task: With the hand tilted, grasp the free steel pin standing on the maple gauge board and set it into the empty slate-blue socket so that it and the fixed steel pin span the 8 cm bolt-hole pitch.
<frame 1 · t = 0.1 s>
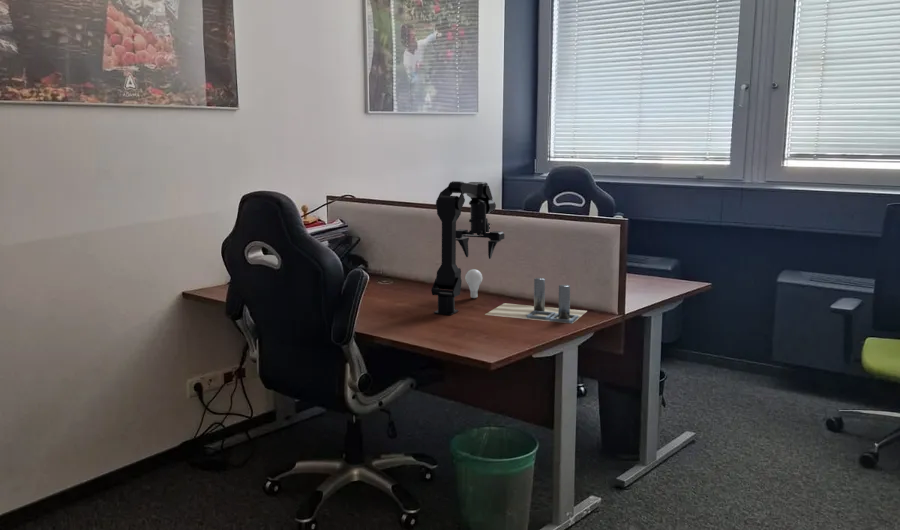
hand: (478, 257, 280), 15 cm above the table, tool pointing down, fingers open, 9 cm apart
lightbulb: (474, 298, 279), on the table
pin: (539, 310, 253), point 1 cm above the table, touching gauge board
fixed pin: (564, 319, 242), resting on gauge board
gauge board: (536, 316, 251), on the table
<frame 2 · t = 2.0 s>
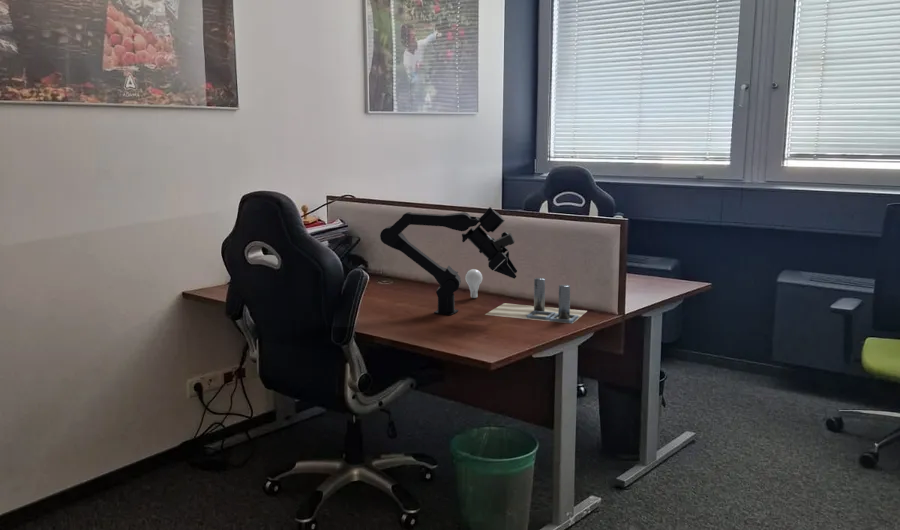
hand: (516, 274, 252), 13 cm above the table, tool tilted 45°, fingers open, 9 cm apart
nothing on the table moved.
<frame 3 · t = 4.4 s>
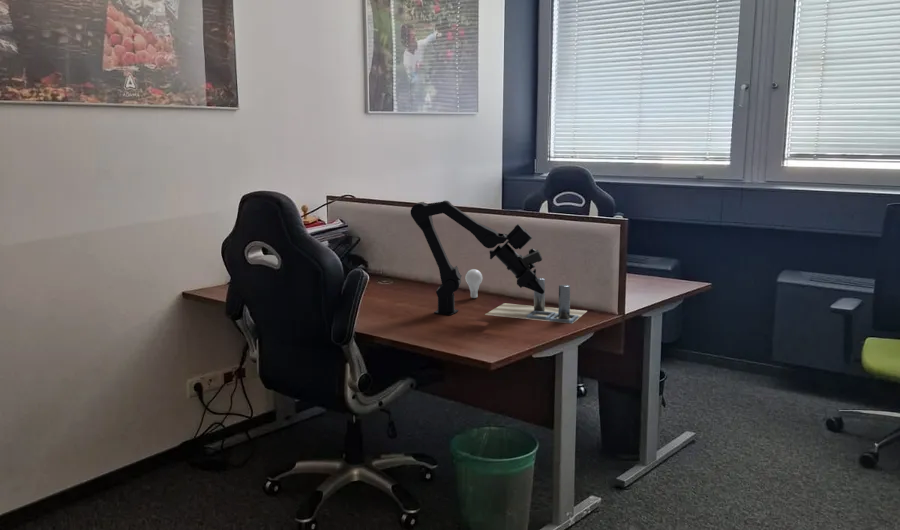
hand: (543, 291, 252), 8 cm above the table, tool tilted 45°, fingers closed on pin, 4 cm apart
pin: (539, 310, 253), point 1 cm above the table, touching gauge board, gripper
everything else where it was.
when the fingers open (9 cm above the table, at t = 6.8 s): pin drops 1 cm, resting on gauge board.
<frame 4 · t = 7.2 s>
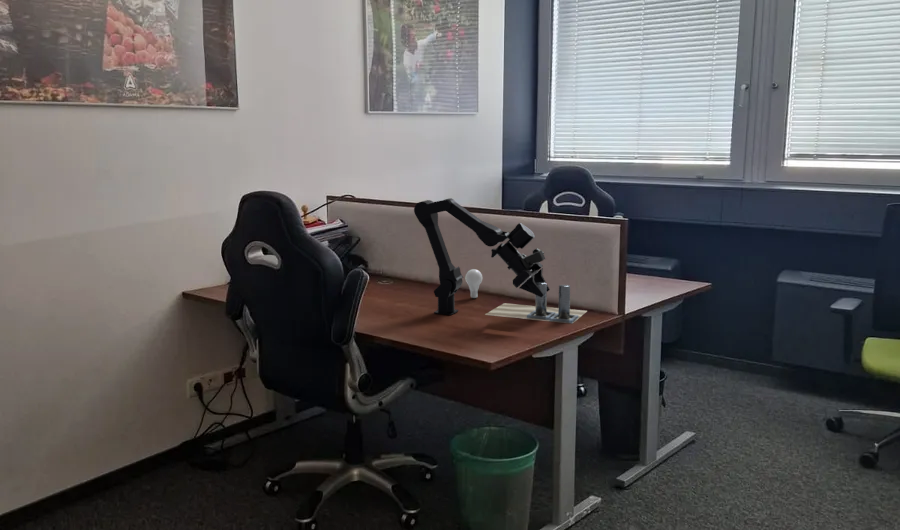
hand: (545, 293, 244), 9 cm above the table, tool tilted 45°, fingers open, 8 cm apart
pin: (541, 316, 246), point 1 cm above the table, touching gauge board
everything else where it was.
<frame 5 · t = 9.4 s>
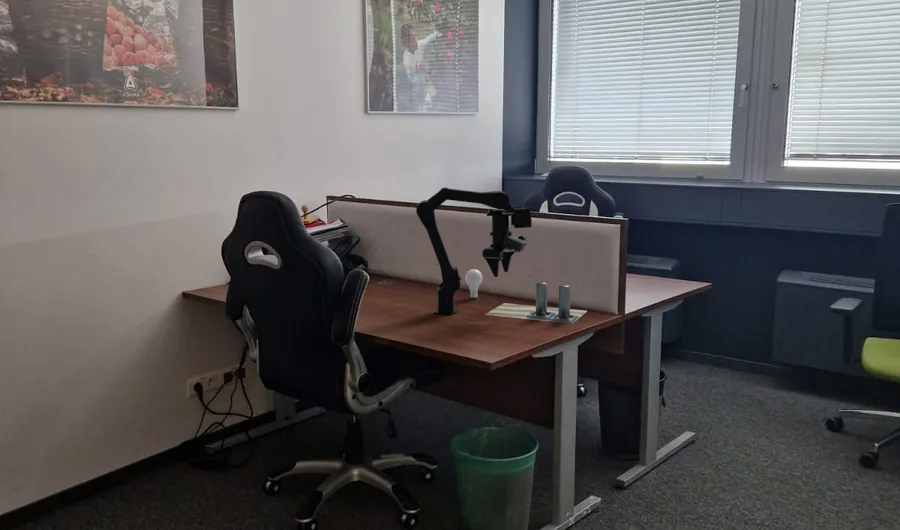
hand: (501, 274, 255), 13 cm above the table, tool pointing down, fingers open, 9 cm apart
nothing on the table moved.
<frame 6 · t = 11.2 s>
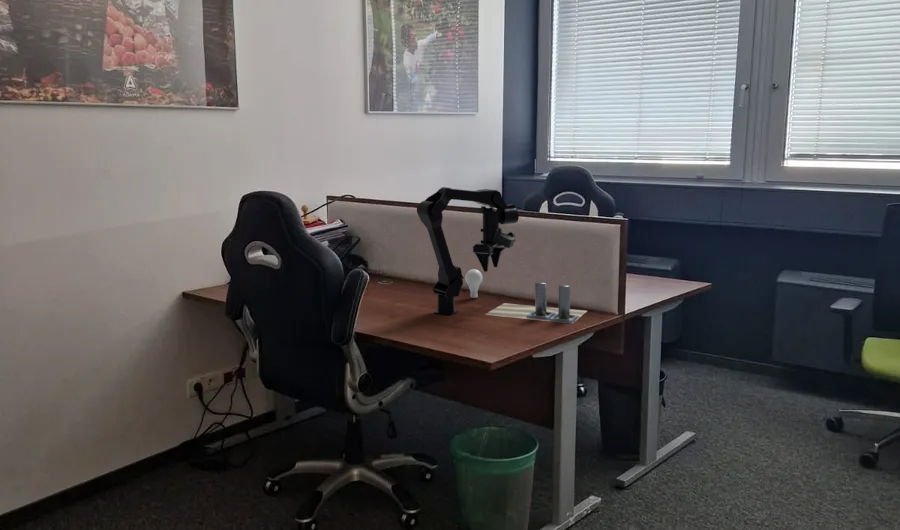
hand: (490, 269, 265), 13 cm above the table, tool pointing down, fingers open, 9 cm apart
nothing on the table moved.
at the end: pin 0.1 cm from the target spot on the gauge board, point 1.2 cm above the gauge board's base; pin tilted 1°; the gripper is holding nothing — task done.
